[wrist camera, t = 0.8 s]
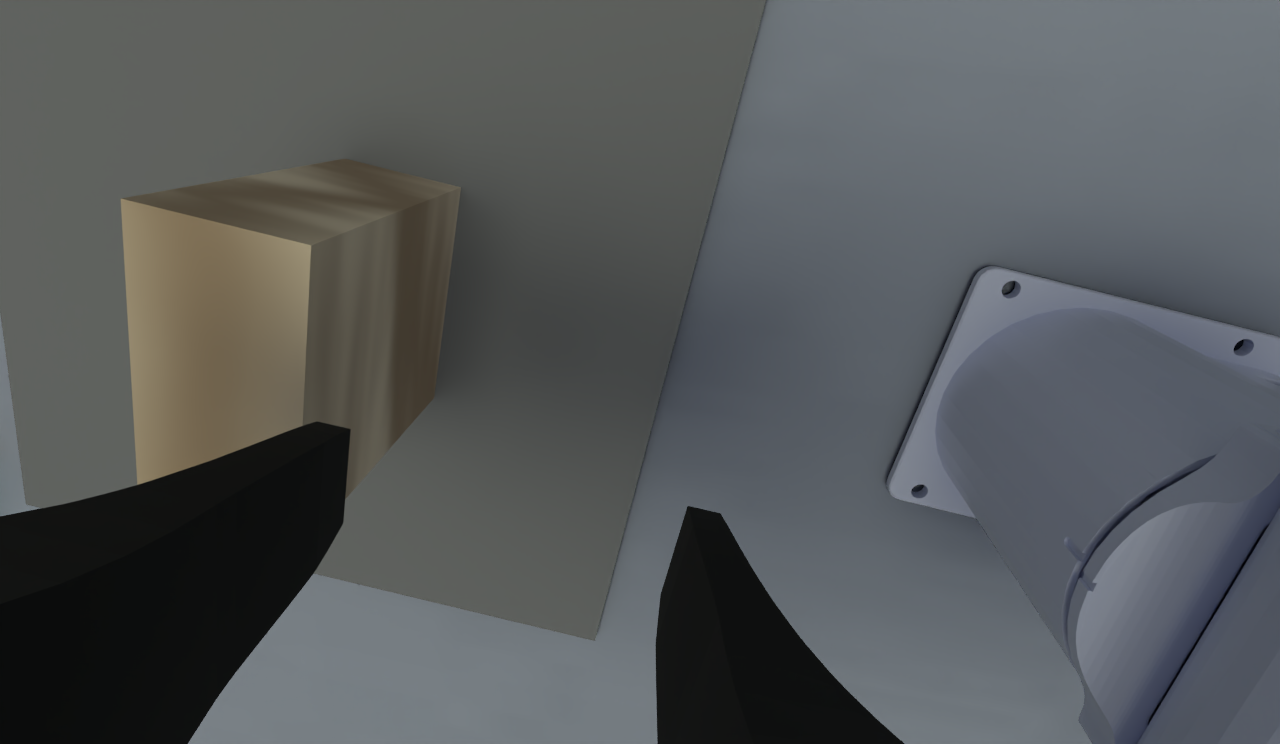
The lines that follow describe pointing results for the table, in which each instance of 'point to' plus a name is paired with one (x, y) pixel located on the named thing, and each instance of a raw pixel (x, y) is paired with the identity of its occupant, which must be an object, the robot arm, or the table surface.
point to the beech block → (285, 310)
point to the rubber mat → (481, 261)
